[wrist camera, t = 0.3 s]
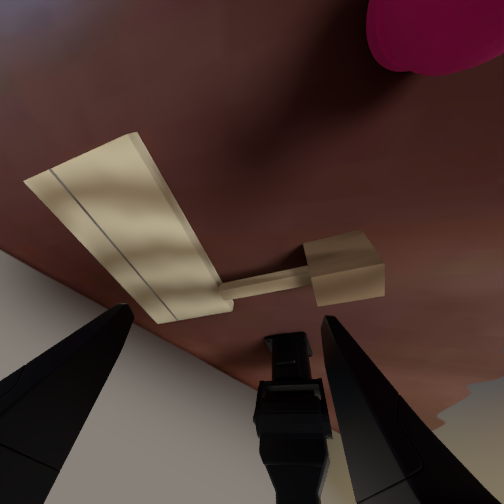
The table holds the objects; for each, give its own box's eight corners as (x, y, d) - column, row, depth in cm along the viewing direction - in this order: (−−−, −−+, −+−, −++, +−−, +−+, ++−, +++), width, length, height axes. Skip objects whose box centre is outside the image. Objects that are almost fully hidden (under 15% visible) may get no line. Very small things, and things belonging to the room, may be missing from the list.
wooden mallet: (363, 259, 24) (384, 295, 19) (232, 285, 28) (225, 321, 23) (361, 229, 22) (384, 263, 17) (220, 262, 26) (209, 297, 21)
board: (233, 302, 30) (232, 311, 28) (161, 315, 32) (157, 324, 31) (136, 131, 18) (126, 134, 17) (37, 176, 21) (22, 181, 19)
